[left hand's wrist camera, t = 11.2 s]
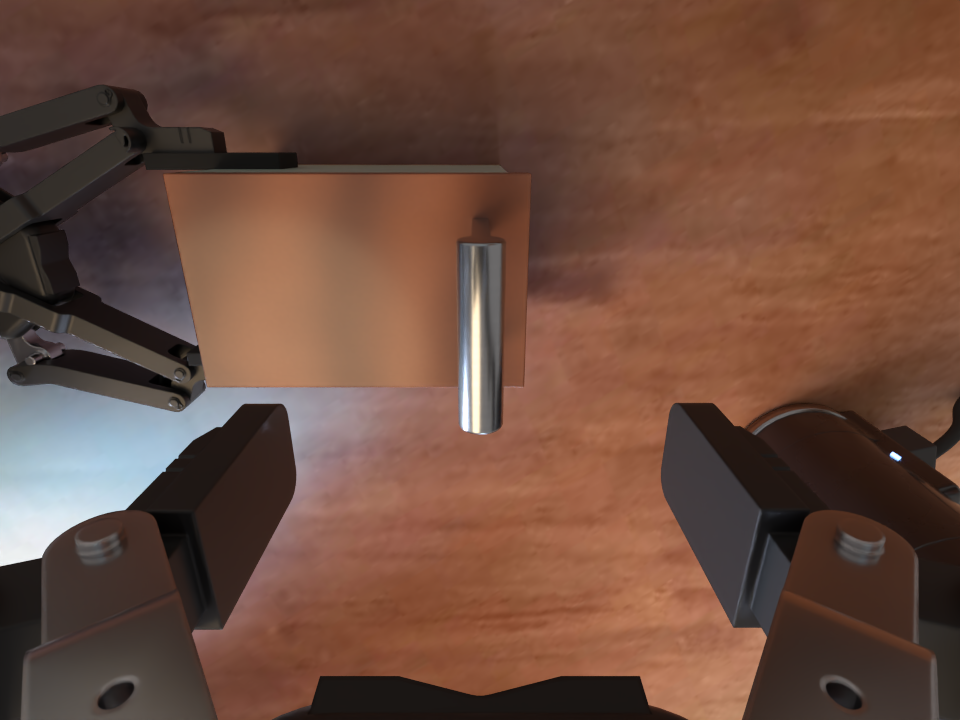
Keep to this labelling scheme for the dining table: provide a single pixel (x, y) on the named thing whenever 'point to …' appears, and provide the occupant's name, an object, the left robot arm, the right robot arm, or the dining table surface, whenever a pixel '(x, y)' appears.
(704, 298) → the dining table surface
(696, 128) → the dining table surface
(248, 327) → the lid
